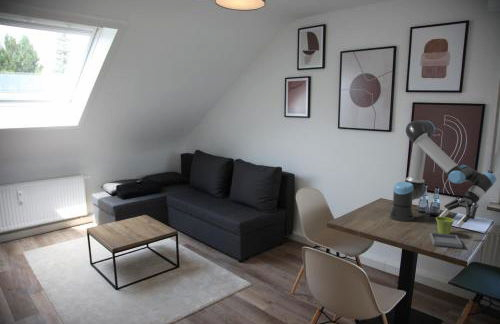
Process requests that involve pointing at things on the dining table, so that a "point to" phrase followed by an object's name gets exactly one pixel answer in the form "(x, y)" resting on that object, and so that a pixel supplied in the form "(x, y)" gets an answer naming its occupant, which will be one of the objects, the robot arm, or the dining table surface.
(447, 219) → the plant pot
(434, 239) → the tray
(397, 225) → the dining table surface
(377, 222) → the dining table surface
